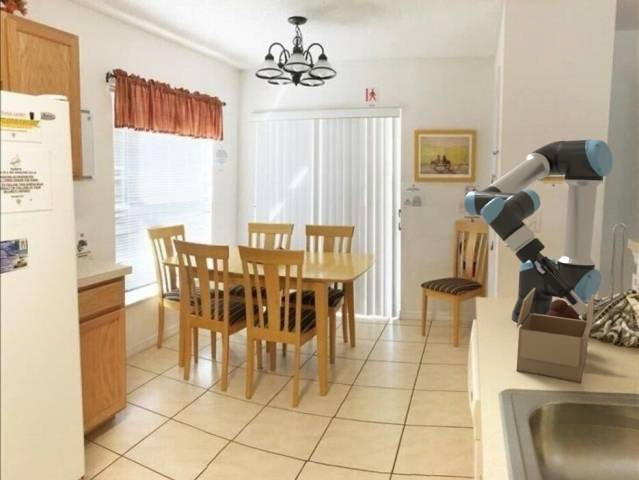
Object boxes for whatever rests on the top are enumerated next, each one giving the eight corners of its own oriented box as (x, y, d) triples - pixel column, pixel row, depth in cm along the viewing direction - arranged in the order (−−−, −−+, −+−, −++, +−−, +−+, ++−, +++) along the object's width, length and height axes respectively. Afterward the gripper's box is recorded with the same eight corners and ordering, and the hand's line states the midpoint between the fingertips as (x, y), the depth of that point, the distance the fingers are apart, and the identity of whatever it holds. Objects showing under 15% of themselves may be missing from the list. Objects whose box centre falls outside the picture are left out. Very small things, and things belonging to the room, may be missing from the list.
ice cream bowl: (542, 351, 164) (546, 303, 162) (541, 340, 175) (544, 295, 173) (580, 355, 161) (584, 306, 159) (577, 344, 171) (580, 298, 169)
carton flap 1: (529, 312, 162) (527, 312, 162) (535, 288, 160) (533, 287, 160) (518, 327, 146) (516, 326, 147) (525, 300, 145) (523, 300, 145)
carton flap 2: (592, 294, 152) (594, 294, 152) (590, 321, 153) (592, 321, 153) (587, 308, 137) (589, 308, 137) (585, 337, 138) (588, 337, 138)
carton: (528, 351, 164) (530, 313, 162) (586, 361, 156) (589, 321, 154) (515, 371, 147) (518, 329, 146) (580, 384, 139) (584, 339, 138)
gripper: (518, 250, 158) (575, 314, 153) (509, 256, 147) (570, 326, 141) (539, 234, 155) (598, 299, 149) (531, 239, 144) (594, 310, 138)
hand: (584, 312), depth 145 cm, fingers closed
